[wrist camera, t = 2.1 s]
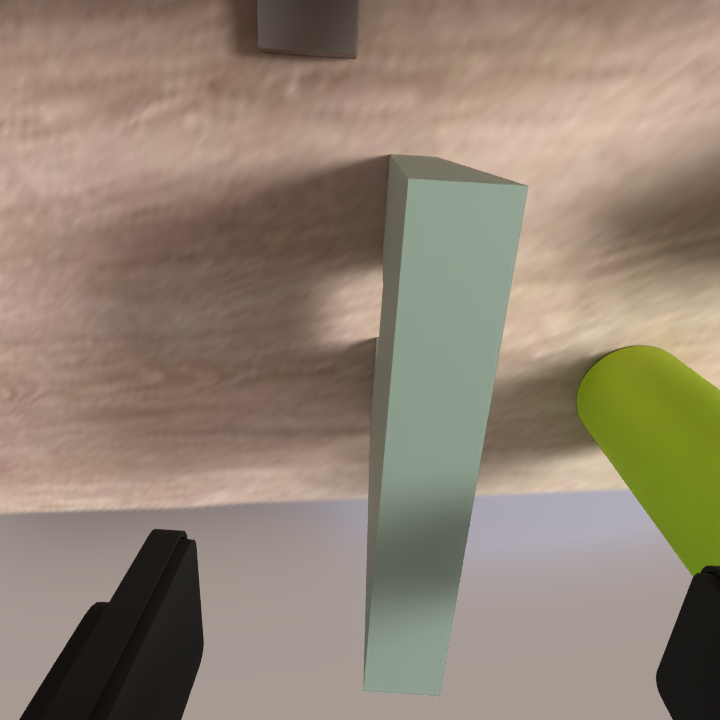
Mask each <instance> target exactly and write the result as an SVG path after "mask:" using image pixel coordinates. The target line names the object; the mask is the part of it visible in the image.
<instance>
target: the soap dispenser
mask: <svg viewBox="0 0 720 720" xmlns="http://www.w3.org/2000/svg"><path fill="white" fill-rule="evenodd" d="M576 404H577V411H578V415H579V417H580V419H581V421H582V423H583V424H584V426H585V427H586V429H587V430H588V431H589V433H590V434H591V436H592V437H593V438H594V440H595V441H596V443H597V444H598V445H599V447H600V448H601V449H602V451H603V452H604V454H605V455H606V456H607V458H608V459H609V461H610V462H611V463H612V465H613V466H614V468H615V469H616V470H617V472H618V473H619V475H620V476H621V477H622V479H623V480H624V481H625V483H626V484H627V486H628V487H629V488H630V490H631V491H632V493H633V494H634V495H635V497H636V498H637V500H638V501H639V502H640V504H641V505H642V506H643V508H644V509H645V511H646V512H647V513H648V515H649V516H650V518H651V519H652V520H653V522H654V523H655V524H656V526H657V527H658V529H659V530H660V531H661V533H662V534H663V535H664V537H665V538H666V540H667V541H668V543H669V544H670V545H671V547H672V548H673V549H674V551H675V552H676V554H677V555H678V556H679V558H680V559H681V561H682V562H683V563H684V565H685V566H686V568H687V569H688V570H689V572H690V573H691V575H692V576H693V577H694V575H695V574H697V573H700V572H701V571H702V569H703V568H704V567H706V566H720V390H719V389H718V388H716V387H715V386H714V385H712V384H711V383H709V382H708V381H707V380H705V379H704V378H703V377H701V376H700V375H699V374H697V373H696V372H695V371H693V370H692V369H690V368H689V367H688V366H686V365H685V364H684V363H682V362H681V361H680V360H678V359H677V358H675V357H674V356H673V355H671V354H670V353H668V352H666V351H664V350H662V349H659V348H656V347H651V346H632V347H627V348H623V349H620V350H617V351H615V352H612V353H610V354H609V355H607V356H605V357H604V358H602V359H601V360H599V361H598V362H597V363H596V364H595V365H594V366H593V367H592V368H591V369H590V370H589V371H588V372H587V374H586V375H585V376H584V378H583V380H582V382H581V384H580V386H579V389H578V393H577V400H576Z"/></svg>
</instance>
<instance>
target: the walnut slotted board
mask: <svg viewBox="0 0 720 720" xmlns="http://www.w3.org/2000/svg"><path fill="white" fill-rule="evenodd" d="M358 15H359V0H257V23H258V48H259V49H261V50H262V51H263V52H265V53H274V54H290V55H307V56H323V57H340V58H357V36H358Z"/></svg>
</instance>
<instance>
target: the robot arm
mask: <svg viewBox="0 0 720 720" xmlns="http://www.w3.org/2000/svg"><path fill="white" fill-rule="evenodd" d="M203 646H204V641H203V628H202V614H201V600H200V588H199V574H198V561H197V547H196V542H195V540H189V539H187V534H186V532H185V531H177V530H162V529H154V530H152V532H151V533H150V534H149V536H148V537H147V539H146V541H145V543H144V544H143V546H142V548H141V549H140V551H139V553H138V554H137V556H136V558H135V560H134V561H133V563H132V565H131V566H130V568H129V570H128V572H127V573H126V575H125V576H124V578H123V580H122V582H121V583H120V585H119V587H118V588H117V590H116V592H115V594H114V595H113V597H112V599H111V600H110V602H97V603H95V604H94V605H93V606H91V607H90V609H89V610H88V611H87V613H86V614H85V615H84V617H83V619H82V620H81V622H80V623H79V625H78V627H77V628H76V630H75V631H74V633H73V635H72V636H71V638H70V639H69V641H68V643H67V644H66V646H65V648H64V649H63V651H62V652H61V654H60V655H59V657H58V659H57V660H56V662H55V663H54V665H53V667H52V668H51V670H50V671H49V673H48V675H47V676H46V678H45V679H44V681H43V683H42V684H41V686H40V687H39V689H38V691H37V692H36V694H35V695H34V697H33V699H32V700H31V702H30V703H29V705H28V707H27V708H26V710H25V711H24V713H23V715H22V716H21V718H20V719H19V720H181V719H182V715H183V712H184V710H185V707H186V704H187V701H188V698H189V695H190V692H191V689H192V686H193V683H194V680H195V677H196V675H197V672H198V669H199V666H200V662H201V658H202V653H203ZM656 682H657V687H658V691H659V693H660V696H661V698H662V700H663V702H664V704H665V706H666V707H667V709H668V711H669V713H670V715H671V717H672V719H673V720H720V566H706V567H704V568H703V569H702V571H701V572H700V573H697V574H695V575H694V577H693V579H692V581H691V584H690V587H689V589H688V592H687V594H686V597H685V600H684V602H683V605H682V607H681V610H680V613H679V615H678V618H677V620H676V623H675V626H674V628H673V631H672V634H671V637H670V639H669V641H668V644H667V647H666V649H665V652H664V655H663V657H662V660H661V662H660V665H659V668H658V670H657V674H656Z"/></svg>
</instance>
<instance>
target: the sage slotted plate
mask: <svg viewBox="0 0 720 720" xmlns="http://www.w3.org/2000/svg"><path fill="white" fill-rule="evenodd" d="M527 191H528V186H527V185H523V184H520V183H517V182H514V181H511V180H508V179H504V178H501V177H498V176H495V175H492V174H489V173H485V172H482V171H479V170H476V169H473V168H470V167H466V166H463V165H460V164H457V163H454V162H451V161H447V160H444V159H441V158H438V157H425V156H409V155H392V154H390V160H389V174H388V187H387V201H386V215H385V228H384V242H383V255H382V267H383V293H382V307H381V320H380V333H379V338H376V350H375V364H374V378H373V391H372V405H371V419H370V457H369V496H368V535H367V573H366V574H367V576H366V612H365V650H364V689H363V691H370V692H385V693H399V694H400V693H401V694H415V695H429V696H440V692H441V686H442V680H443V675H444V669H445V663H446V657H447V651H448V645H449V640H450V634H451V628H452V623H453V617H454V611H455V605H456V599H457V594H458V588H459V582H460V577H461V571H462V565H463V559H464V553H465V548H466V542H467V536H468V530H469V525H470V519H471V513H472V508H473V501H474V496H475V490H476V485H477V479H478V473H479V467H480V462H481V456H482V450H483V444H484V439H485V433H486V427H487V421H488V415H489V410H490V404H491V398H492V392H493V387H494V381H495V375H496V369H497V364H498V358H499V352H500V346H501V341H502V335H503V329H504V323H505V318H506V312H507V306H508V300H509V295H510V289H511V283H512V277H513V272H514V266H515V260H516V254H517V248H518V243H519V237H520V231H521V225H522V220H523V214H524V208H525V202H526V197H527Z"/></svg>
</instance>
